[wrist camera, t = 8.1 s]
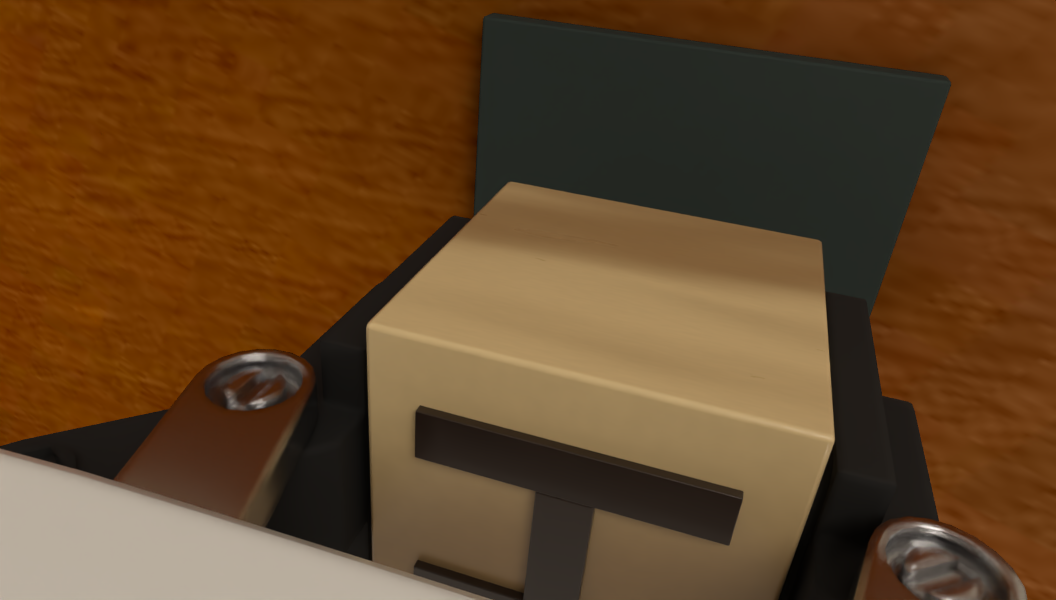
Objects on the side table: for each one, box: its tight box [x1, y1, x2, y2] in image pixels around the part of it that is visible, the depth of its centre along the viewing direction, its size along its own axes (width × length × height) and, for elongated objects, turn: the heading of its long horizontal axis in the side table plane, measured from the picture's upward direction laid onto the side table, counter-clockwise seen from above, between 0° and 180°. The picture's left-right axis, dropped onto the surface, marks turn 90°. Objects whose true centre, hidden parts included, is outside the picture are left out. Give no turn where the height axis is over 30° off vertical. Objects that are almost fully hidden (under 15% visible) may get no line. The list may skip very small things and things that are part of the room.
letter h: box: [366, 182, 835, 600], centre depth 10 cm, size 4×4×4 cm
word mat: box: [474, 13, 951, 317], centre depth 17 cm, size 14×8×1 cm, turn 175°
